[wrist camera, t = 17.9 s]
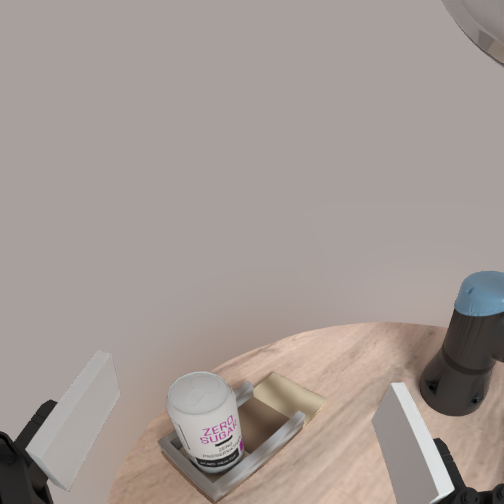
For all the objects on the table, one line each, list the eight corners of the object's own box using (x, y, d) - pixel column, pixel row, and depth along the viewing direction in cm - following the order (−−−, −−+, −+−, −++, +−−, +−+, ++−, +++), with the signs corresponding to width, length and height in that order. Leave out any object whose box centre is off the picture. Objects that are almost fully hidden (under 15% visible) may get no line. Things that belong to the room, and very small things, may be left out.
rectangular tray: (273, 375, 52) (273, 361, 50) (326, 403, 44) (329, 388, 42) (162, 455, 34) (155, 442, 33) (214, 505, 26) (208, 496, 25)
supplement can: (206, 426, 39) (187, 361, 34) (253, 443, 36) (246, 379, 31) (179, 462, 32) (148, 401, 27) (229, 484, 29) (211, 429, 24)
